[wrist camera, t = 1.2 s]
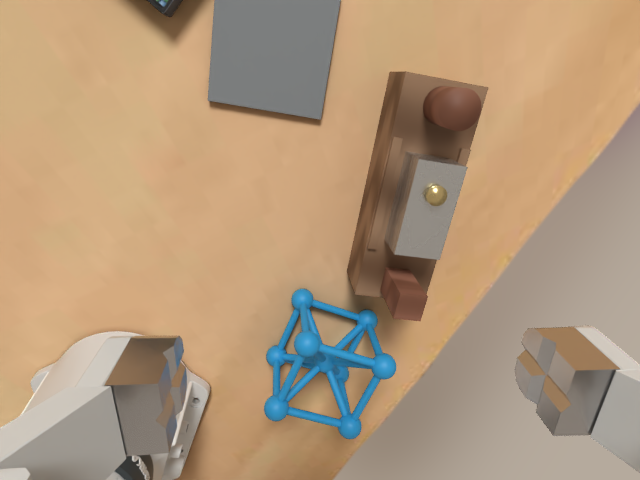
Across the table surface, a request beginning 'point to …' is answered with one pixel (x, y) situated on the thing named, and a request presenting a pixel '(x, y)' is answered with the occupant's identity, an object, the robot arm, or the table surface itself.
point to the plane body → (387, 158)
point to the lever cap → (424, 205)
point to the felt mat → (272, 54)
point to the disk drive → (166, 6)
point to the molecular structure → (325, 364)
